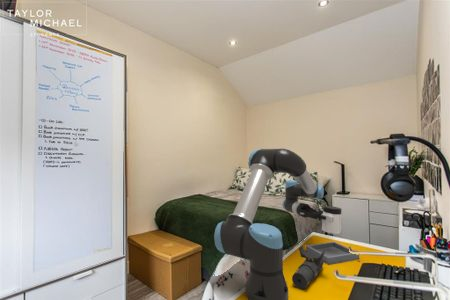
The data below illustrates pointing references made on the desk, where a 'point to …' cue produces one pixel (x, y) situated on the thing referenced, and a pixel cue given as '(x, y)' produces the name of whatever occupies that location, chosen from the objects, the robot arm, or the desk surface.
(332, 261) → the tray
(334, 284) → the desk surface
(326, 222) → the jar
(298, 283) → the laser sight
